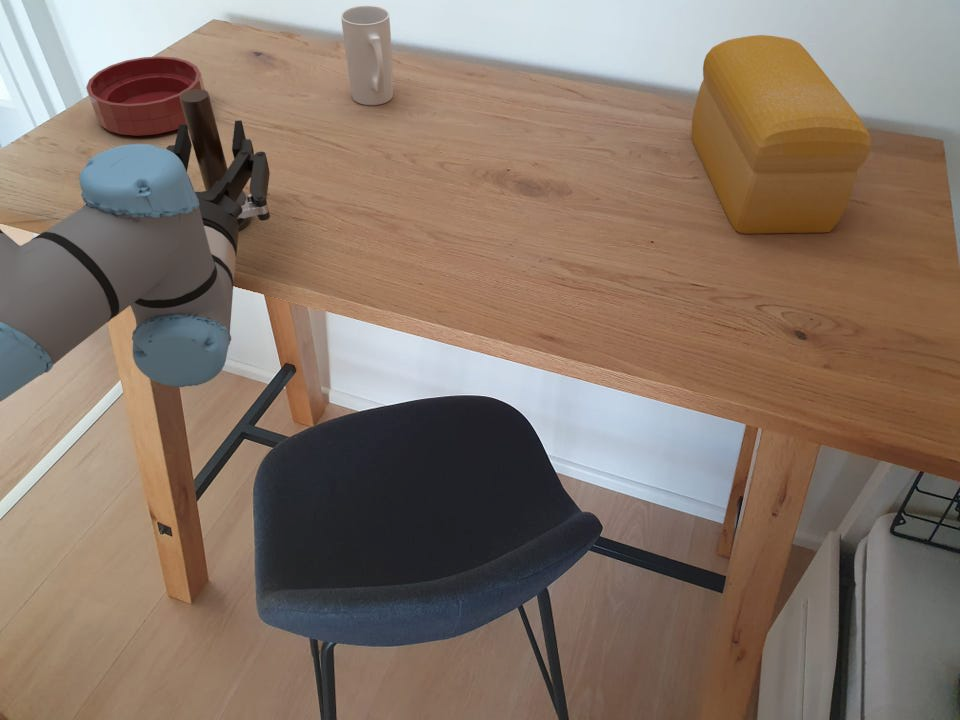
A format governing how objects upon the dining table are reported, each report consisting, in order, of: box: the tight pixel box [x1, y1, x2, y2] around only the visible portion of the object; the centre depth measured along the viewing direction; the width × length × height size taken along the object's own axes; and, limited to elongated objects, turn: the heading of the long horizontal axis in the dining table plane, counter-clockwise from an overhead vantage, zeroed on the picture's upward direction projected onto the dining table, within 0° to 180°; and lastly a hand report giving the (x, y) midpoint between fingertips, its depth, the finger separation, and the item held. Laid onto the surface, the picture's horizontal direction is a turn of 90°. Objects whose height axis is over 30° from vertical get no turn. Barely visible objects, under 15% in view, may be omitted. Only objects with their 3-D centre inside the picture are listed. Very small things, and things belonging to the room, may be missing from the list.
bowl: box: [85, 55, 206, 137], centre depth 109 cm, size 15×15×5 cm
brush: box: [179, 89, 252, 232], centre depth 87 cm, size 6×6×16 cm
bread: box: [691, 34, 872, 235], centre depth 95 cm, size 24×13×15 cm, turn 2°
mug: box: [340, 5, 394, 106], centre depth 110 cm, size 10×7×12 cm, turn 21°
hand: (213, 133), depth 90 cm, fingers open, 6 cm apart
